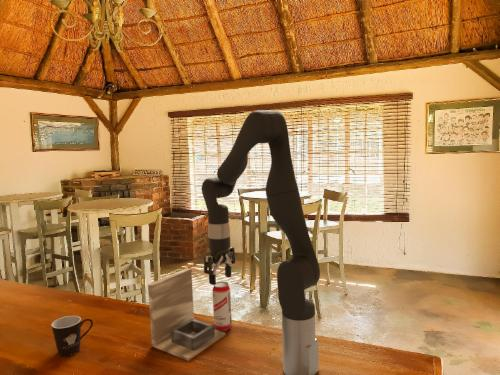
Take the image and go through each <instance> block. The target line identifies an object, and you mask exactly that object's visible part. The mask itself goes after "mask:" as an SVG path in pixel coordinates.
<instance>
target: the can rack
mask: <svg viewBox="0 0 500 375" xmlns="http://www.w3.org/2000/svg"><path fill="white" fill-rule="evenodd" d="M192 274H193V273H192V268H188V267H187V268H184V269H181V270H180V271H177V272H175V273H173V274H170V275H167V276H165V277H162V278H160V279H158V280H156V281H153V282H151V283H147V290H148V292H147V293H148V305H149V308H148V309H149V321H150V333H151V334H150V335H151V336H150V337H151V347H152V348H155V349H158V350H160V351H162V352H166V353H167V354H170V355H172V356H174V357H178V358H180V359H182V360H185V361H187V362H189V361H191V360H192V359H193V358H194V357H196V356H198V355H199V354H201V353H202V352H203V351H204V350H206V349H207V348H209V347H210V346H212V345H214V344H215V343H217V342H218V341H219V340H221V339H222V338H224V337H225V336H226V332H224V331H219V330H217V329H216V328H215V327H214V324H211V323H207V322H204V321H202V320H198V319H195V314H194V313H195V312H194V311H195V309H194V295H193V292H194V290H193V275H192Z"/></svg>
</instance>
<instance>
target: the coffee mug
mask: <svg viewBox="0 0 500 375" xmlns="http://www.w3.org/2000/svg"><path fill="white" fill-rule="evenodd" d="M87 321H89V322H90V326H89V327H88V329H87V330H86V331H85V332H84V333H83V334H82V335H81V331H82V330H81V329H82V328H81V327H82V326H83V324H84V323H85V322H87ZM93 325H94V321H93V320H92V319H90V318H85V319H83V320H82V318H81V316H78V315H68V316H63V317H60V318H57V319H55V320H54V321H53V322H51V325H50V326H51V329H52V333H53V334H52V335H53V337H54V342H55V346H56V350H57V354H58V356H59V355H61V356H60V357H62V356H67V355H71V354H74V353H76V352H77V353H78V351H79V352H80V350H81V340H82V339H83V338H84V337H85V336H86V335H87V334H88V333H89V332H90V331H91V329H92V327H93ZM77 353H76V354H77ZM74 355H75V354H74ZM71 356H72V355H71ZM67 357H68V356H67Z"/></svg>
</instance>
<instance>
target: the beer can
mask: <svg viewBox="0 0 500 375" xmlns="http://www.w3.org/2000/svg"><path fill="white" fill-rule="evenodd" d="M231 297H232V296H231V287H230V286H229V282H226V281H218V282H217V281H216V284H215V285H213V287H212V311H213V325H214V327H215V330H218V331H221V332H224V331H225V332H226V331H228V330H230V328H231V327H232V325H233V321H232V299H231Z"/></svg>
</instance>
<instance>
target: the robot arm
mask: <svg viewBox="0 0 500 375" xmlns="http://www.w3.org/2000/svg"><path fill="white" fill-rule="evenodd" d="M289 138H290V136H289V131H288V124H287V120H286V119H285V116H284V114H282V112H280V111H279V110H273V109H272V110H265V109H263V110H253V111H251V112H250V113H249V114H248V115H247V116H246V118H245V120H244V122H243V123H242V126H241V127H240V130H239V132H238V134H237V137H236V139H235V140H234V143H233V145H232V148H231V150H230V152H229V153H228V154H227V156H226V158H225V159H224V160H223V162H222V163H221V165H219V167H218V169H217V172H216V176H217V177H208V178H206V179H204V180H203V182H202V184H201V193H202V197H203V200H204V202H205V206H206V210H207V223H208V224H207V225H208V226H207V238H208V240H207V242H208V250H209V251H210V254H209V255H204V257H203V273H204V274H206V275H208V279H209V280H208V283H209V284H210V285H212V286H214V285H215V284H216V283H217V279H216V278H217V277H216V275H217V274H216V272H217V270H218V269H219V268H220V266H221V265H223V264H224V275H225V277H226V278H231V277H232V267H233V265H234V264H236V254H235V247H232V246H231V228H230V221H229V220H230V219H229V218H230V217H229V216H230V215H229V208H228V206H227V205H226V204H220V203H218V199H223V198H227V197H228V196H230V195H231V194H233V192H234V189H235V186H236V185H237V184H236V183H237V181H238V179H239V178H240V177H241V176H242V175H243V173H244V172H245V171H246V169H247V166H248V161H249V158H248V157H249V153H250V151H251V150H252V149H253V148H254V147H256V146H257V145H258V144H268V146H269V152H270V158H271V159H270V160H271V162H270V163H271V164H270V168H269V172H268V176H267V180H266V183H265V197H266V201H267V205H268V209H269V213H270V215H271V217H272V219H273V220H274V222H275V223H276V224H277V226H278V227H279V228H280V229H281V231H282V232H283V233H284V234H285V236H286V237H287V240H288V242H289V245H290V250H291V255H292V257H289V258H288V259H285V260H283V261H281V262H280V264H279V265H278V267H277V271H276V280H277V281H276V282H277V296H278V303H279V306H280V308H281V327H282V328H281V330H282V331H281V332H282V336H281V337H282V366H283V368H282V369H283V373H284V375H316V374H317V373H318V371H320V370H319V369H320V368H319V367H320V366H319V360H320V359H319V339H318V338H316V306H315V303H314V302H313V301H312V300H310V299H308V298H306V290H307V289H309V288H312V287H314V286H315V285H316V284H318V282H319V280H320V277H321V271H320V265H319V262H318V258H317V255H316V251H315V250H314V249H315V248H314V247H313V243H312V240H311V237H310V233H309V229H308V225H307V221H306V218H305V215H304V214H305V213H304V210H303V205H302V199H301V194H300V190H299V187H298V183H297V178H296V175H295V169H294V164H293V159H292V152H291V145H290V139H289Z"/></svg>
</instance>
